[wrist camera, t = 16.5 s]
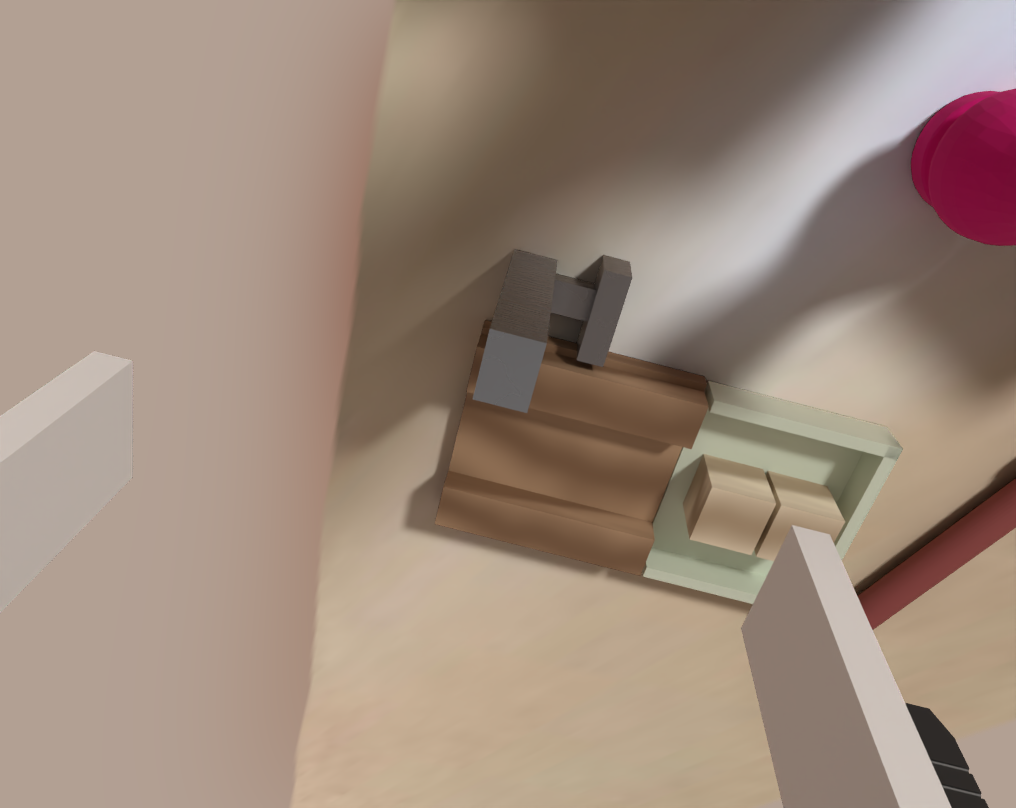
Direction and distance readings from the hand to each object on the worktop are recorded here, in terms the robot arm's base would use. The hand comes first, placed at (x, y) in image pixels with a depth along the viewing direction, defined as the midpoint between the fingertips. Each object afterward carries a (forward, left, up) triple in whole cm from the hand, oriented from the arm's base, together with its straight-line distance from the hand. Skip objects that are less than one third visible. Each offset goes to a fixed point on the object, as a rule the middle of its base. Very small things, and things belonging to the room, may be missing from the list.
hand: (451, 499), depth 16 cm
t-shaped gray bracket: (+6, +3, -32) cm, 33 cm away
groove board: (+16, +6, -32) cm, 37 cm away
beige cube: (+16, +16, -32) cm, 39 cm away
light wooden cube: (+16, +21, -32) cm, 41 cm away
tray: (+16, +19, -32) cm, 41 cm away
